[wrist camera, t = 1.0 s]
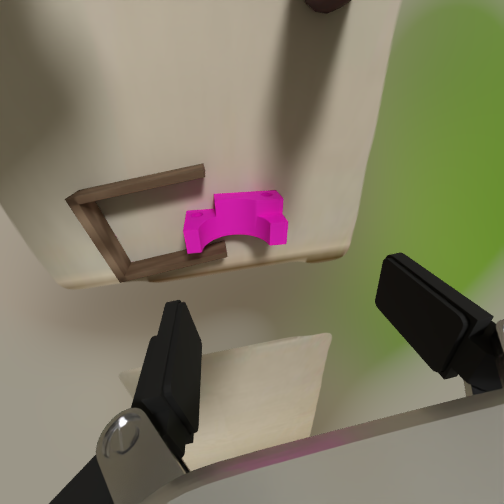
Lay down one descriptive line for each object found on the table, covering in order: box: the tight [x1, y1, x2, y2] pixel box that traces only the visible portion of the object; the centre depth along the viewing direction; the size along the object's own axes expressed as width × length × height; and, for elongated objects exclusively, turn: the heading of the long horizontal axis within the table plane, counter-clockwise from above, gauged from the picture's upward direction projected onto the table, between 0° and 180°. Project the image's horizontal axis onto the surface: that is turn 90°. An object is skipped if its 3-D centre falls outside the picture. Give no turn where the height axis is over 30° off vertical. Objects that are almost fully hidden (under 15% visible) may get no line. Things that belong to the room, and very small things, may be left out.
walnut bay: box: [65, 164, 227, 283], centre depth 35 cm, size 15×18×4 cm
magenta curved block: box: [183, 190, 288, 254], centre depth 35 cm, size 15×6×8 cm, turn 91°
